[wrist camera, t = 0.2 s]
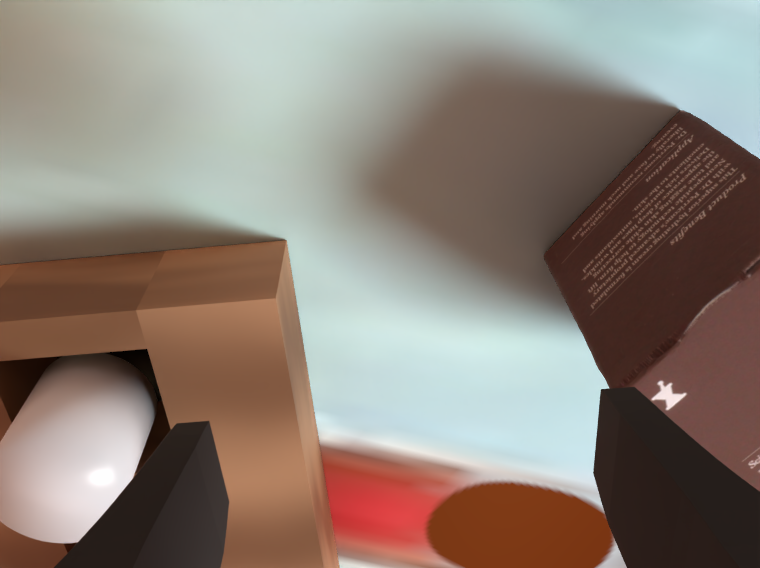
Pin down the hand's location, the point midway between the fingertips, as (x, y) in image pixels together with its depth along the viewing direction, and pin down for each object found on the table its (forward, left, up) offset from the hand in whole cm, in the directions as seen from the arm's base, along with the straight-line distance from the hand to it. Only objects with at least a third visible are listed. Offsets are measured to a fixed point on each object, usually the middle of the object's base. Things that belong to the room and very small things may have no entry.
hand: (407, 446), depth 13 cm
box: (-1, -9, -10) cm, 14 cm away
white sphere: (-4, +9, -7) cm, 12 cm away
